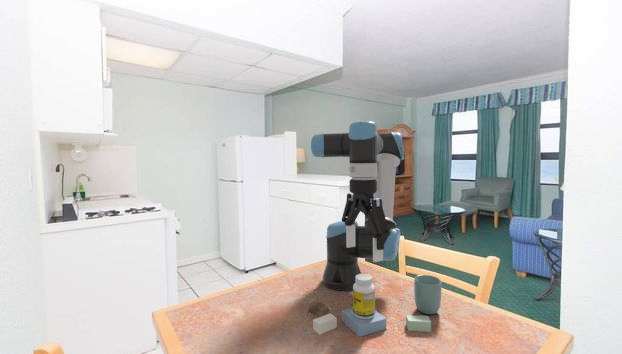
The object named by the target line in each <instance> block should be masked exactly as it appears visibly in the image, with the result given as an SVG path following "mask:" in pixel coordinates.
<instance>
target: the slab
mask: <svg viewBox="0 0 622 354" xmlns="http://www.w3.org/2000/svg"><path fill="white" fill-rule="evenodd" d="M341 320H342V323H344V324H345V325H346V326H347V327H348V328H349V329H350V331H352V332H353V333H354V334H355V335H356V336H357V337H358V338H361V337H363V336H368V335H370V334H375V333H377V332H381V331H384V330H387V318H386V317H385V316H383V315H382V314H381V313H380V312H378V311H377V310H376V309H375V315H374V317H373V318H371V319H360V318H357V317H356V316H355V315H354V313H353V307H351V308H348V309H347V308H346V309H342V310H341Z"/></svg>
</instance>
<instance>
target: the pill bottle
mask: <svg viewBox="0 0 622 354" xmlns="http://www.w3.org/2000/svg"><path fill="white" fill-rule="evenodd" d="M355 281H356V283H355V284H354V285H353V290H352V308H353V313H354V315H355V316H356V317H357V318H360V319H371V318H373V317H374V315H375V310H376V288H375V284H373V277H372V275H370V274H368V273H361V274H358V275H356V277H355Z"/></svg>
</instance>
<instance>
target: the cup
mask: <svg viewBox="0 0 622 354" xmlns="http://www.w3.org/2000/svg"><path fill="white" fill-rule="evenodd" d="M413 281H414V282H413V284H414V286H413V291H414V292H413V294H414V295H413V297H414V303H415V307H416V308H417V310H418V311H419V312H421V313H422V314H425V315H435V314H437V313H438V312H439V311H440V309H441V301H442V281H441V279H440V278H439V277H437V276H434V275H429V274H418V275H416V276H415V277H414V280H413Z"/></svg>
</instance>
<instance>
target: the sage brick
mask: <svg viewBox="0 0 622 354" xmlns="http://www.w3.org/2000/svg"><path fill="white" fill-rule="evenodd" d="M405 325H406V328H407V330H408V331H409V332H424V333H425V332H427V333H428V332H429V333H431V332H432V321H431V319H430V317H429V316H428V315H414V314H412V315H411V314H409V315H408V314H406V316H405Z"/></svg>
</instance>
